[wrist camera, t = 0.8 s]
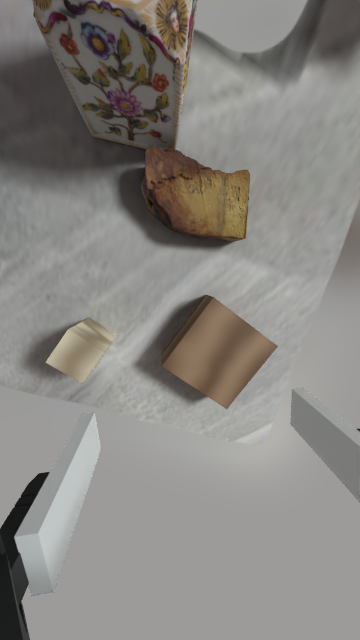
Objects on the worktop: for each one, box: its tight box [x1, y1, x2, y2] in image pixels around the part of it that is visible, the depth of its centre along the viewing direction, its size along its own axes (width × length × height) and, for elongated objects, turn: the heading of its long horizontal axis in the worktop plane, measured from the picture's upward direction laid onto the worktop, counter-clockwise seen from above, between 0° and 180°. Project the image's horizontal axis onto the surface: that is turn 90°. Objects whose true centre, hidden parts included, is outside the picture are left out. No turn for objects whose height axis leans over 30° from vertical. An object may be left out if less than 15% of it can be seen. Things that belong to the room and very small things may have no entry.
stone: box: [141, 146, 250, 241], centre depth 30 cm, size 15×9×5 cm, turn 79°
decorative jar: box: [33, 0, 197, 150], centre depth 20 cm, size 12×12×18 cm
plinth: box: [162, 295, 278, 409], centre depth 34 cm, size 12×12×5 cm
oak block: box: [46, 318, 117, 384], centre depth 30 cm, size 5×5×8 cm
